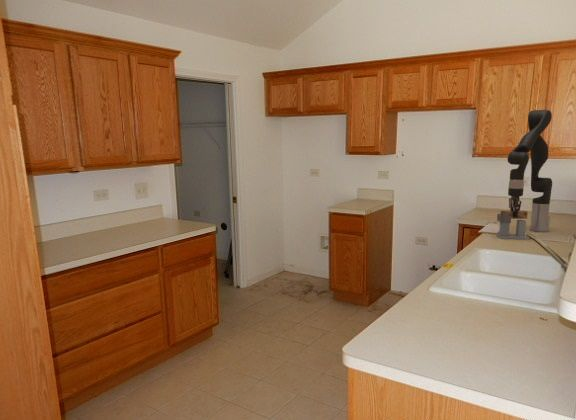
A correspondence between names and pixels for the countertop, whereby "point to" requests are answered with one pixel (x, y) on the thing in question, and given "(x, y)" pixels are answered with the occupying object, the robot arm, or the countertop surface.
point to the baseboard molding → (490, 229)
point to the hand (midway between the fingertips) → (513, 216)
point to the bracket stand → (504, 228)
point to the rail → (510, 213)
